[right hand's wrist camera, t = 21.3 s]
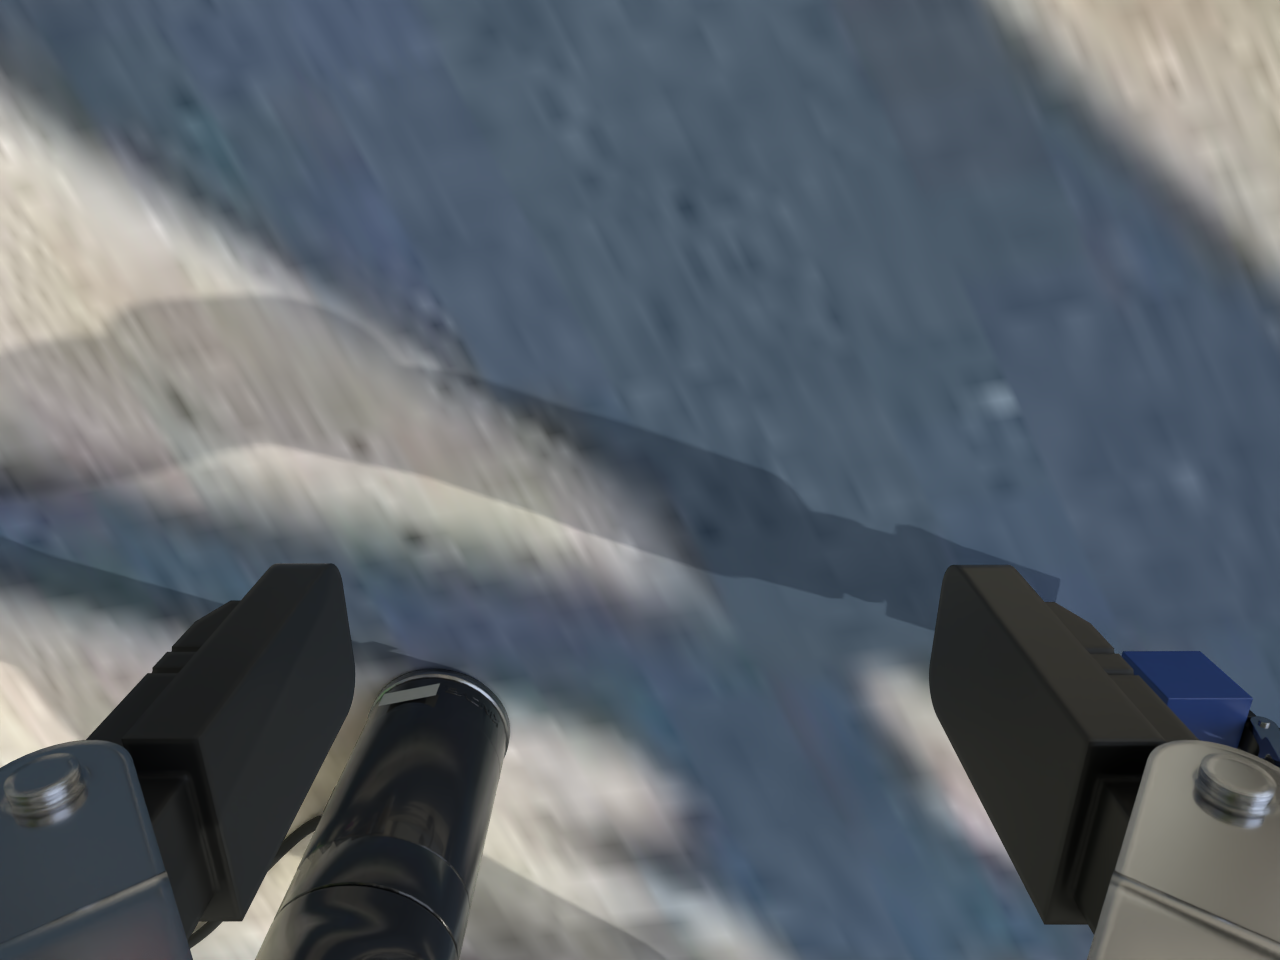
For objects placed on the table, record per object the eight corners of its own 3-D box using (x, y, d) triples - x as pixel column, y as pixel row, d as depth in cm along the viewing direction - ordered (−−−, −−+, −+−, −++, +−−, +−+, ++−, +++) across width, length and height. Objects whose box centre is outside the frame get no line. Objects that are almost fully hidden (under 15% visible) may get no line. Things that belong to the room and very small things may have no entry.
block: (1200, 650, 49) (1253, 698, 45) (1181, 719, 51) (1230, 771, 47) (1122, 650, 49) (1168, 698, 45) (1106, 720, 51) (1148, 772, 47)
